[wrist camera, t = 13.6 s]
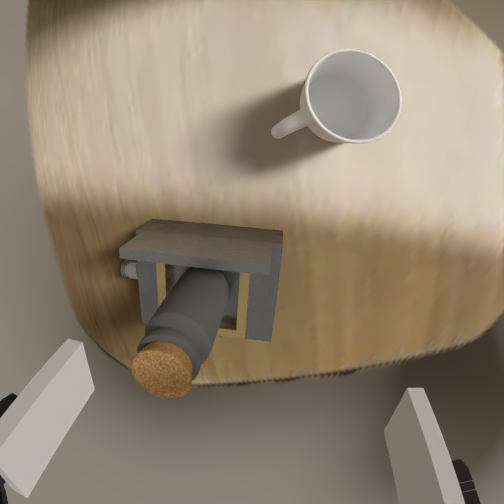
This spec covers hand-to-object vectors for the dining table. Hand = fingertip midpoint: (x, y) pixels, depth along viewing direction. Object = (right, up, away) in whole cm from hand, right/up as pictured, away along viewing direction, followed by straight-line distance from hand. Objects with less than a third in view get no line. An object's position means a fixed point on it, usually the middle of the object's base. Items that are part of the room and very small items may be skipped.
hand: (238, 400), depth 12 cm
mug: (+8, +21, +22) cm, 31 cm away
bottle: (-5, +2, +24) cm, 25 cm away
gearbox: (-6, +3, +29) cm, 30 cm away
